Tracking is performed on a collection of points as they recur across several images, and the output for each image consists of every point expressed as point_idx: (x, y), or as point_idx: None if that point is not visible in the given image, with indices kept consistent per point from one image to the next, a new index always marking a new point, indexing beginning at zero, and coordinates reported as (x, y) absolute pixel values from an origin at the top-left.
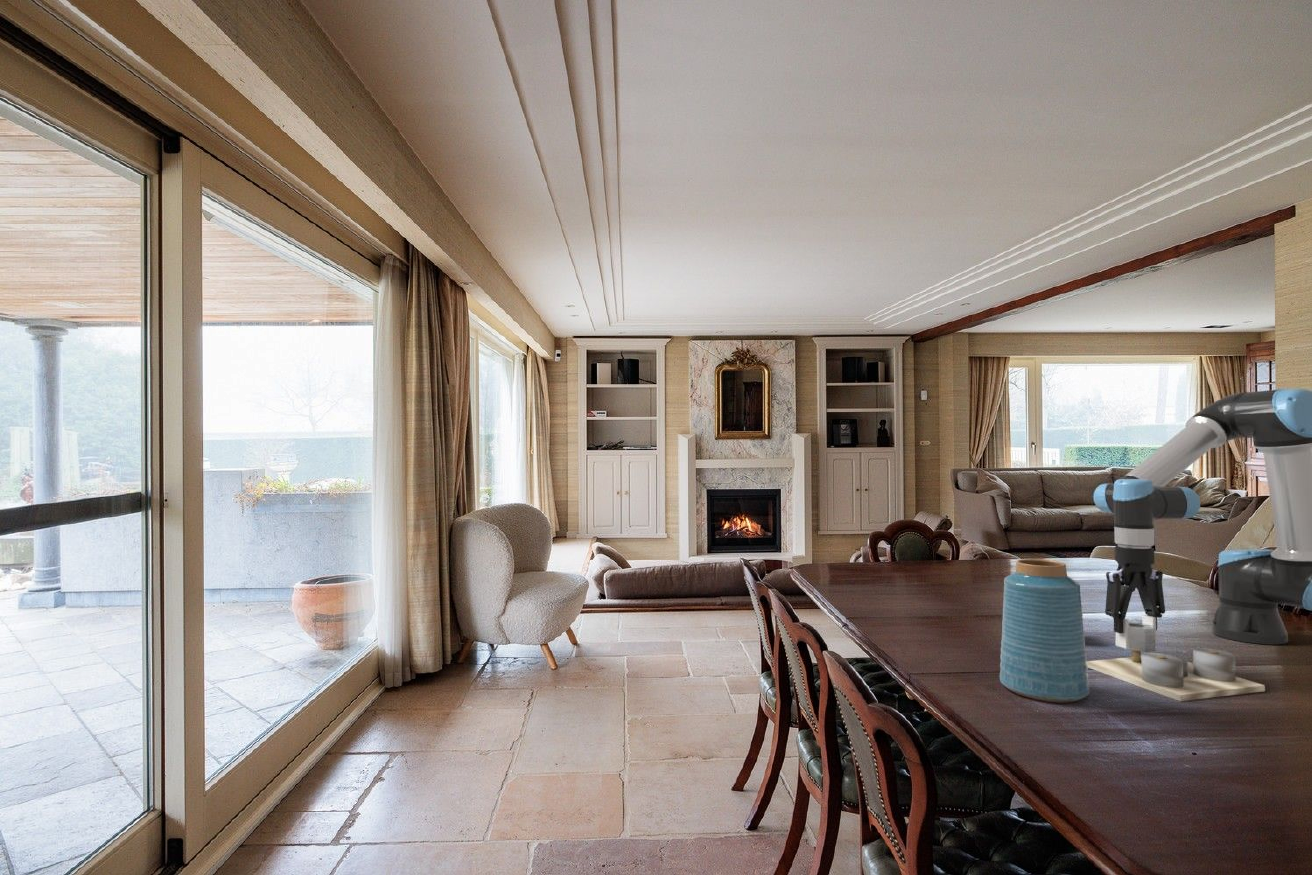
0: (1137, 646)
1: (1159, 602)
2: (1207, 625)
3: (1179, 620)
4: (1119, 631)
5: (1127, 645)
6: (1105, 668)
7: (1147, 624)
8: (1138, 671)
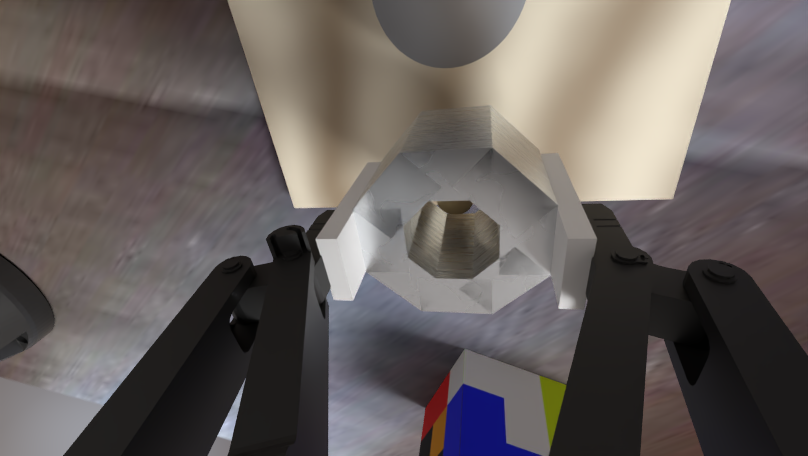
0: (515, 134)
1: (219, 318)
2: (47, 357)
3: (90, 390)
4: (607, 210)
5: (551, 159)
6: (701, 99)
7: (367, 238)
8: (589, 28)
